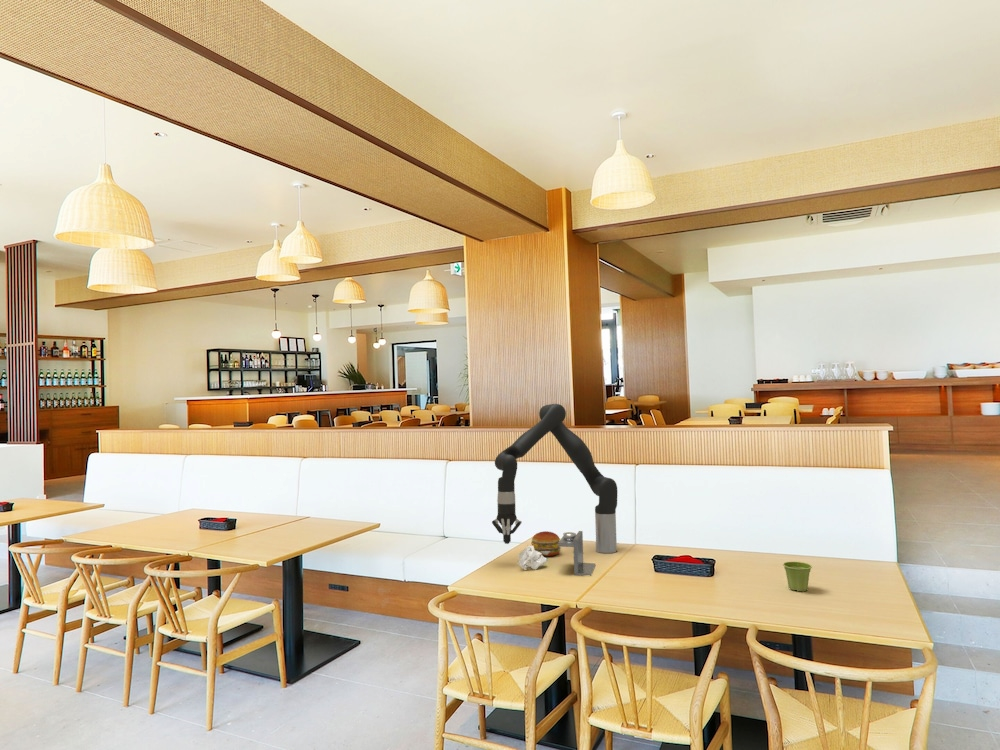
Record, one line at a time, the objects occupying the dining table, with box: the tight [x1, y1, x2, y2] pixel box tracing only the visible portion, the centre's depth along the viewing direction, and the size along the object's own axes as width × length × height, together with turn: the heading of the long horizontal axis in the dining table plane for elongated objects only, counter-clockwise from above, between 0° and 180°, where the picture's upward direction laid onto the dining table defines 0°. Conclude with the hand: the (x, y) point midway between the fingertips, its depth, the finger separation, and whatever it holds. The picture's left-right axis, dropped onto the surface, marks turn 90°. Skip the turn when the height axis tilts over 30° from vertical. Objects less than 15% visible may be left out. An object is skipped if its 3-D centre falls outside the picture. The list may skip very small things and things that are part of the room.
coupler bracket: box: [559, 530, 596, 577], centre depth 262 cm, size 16×12×14 cm
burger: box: [530, 530, 561, 557], centre depth 288 cm, size 13×14×10 cm
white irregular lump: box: [516, 544, 548, 571], centre depth 267 cm, size 12×9×10 cm
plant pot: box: [782, 561, 813, 592], centre depth 230 cm, size 9×9×9 cm
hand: (507, 543), depth 270 cm, fingers closed
